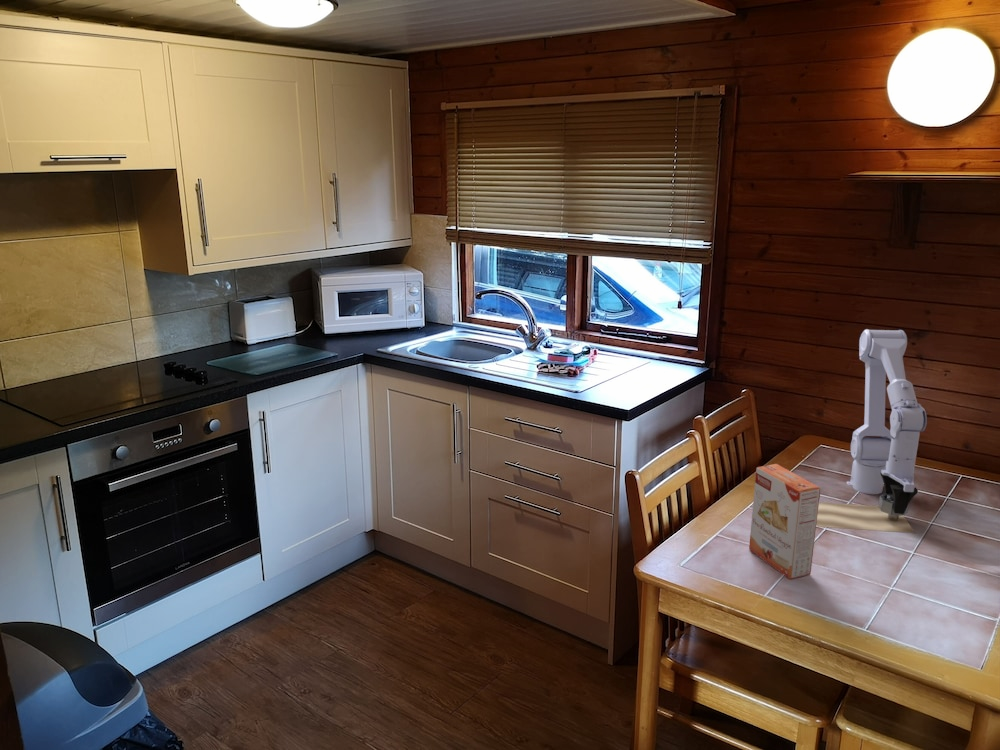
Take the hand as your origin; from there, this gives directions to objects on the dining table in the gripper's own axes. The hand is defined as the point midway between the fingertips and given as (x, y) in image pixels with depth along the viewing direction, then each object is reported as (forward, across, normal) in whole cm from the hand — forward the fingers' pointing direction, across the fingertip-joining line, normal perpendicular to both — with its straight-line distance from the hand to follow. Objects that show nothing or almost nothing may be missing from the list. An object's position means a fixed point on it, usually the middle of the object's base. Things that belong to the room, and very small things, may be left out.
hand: (894, 507), depth 189 cm
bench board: (+4, 0, -8) cm, 9 cm away
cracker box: (+5, +24, -31) cm, 39 cm away
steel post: (+3, 0, 0) cm, 3 cm away
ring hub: (+1, 0, 0) cm, 1 cm away
